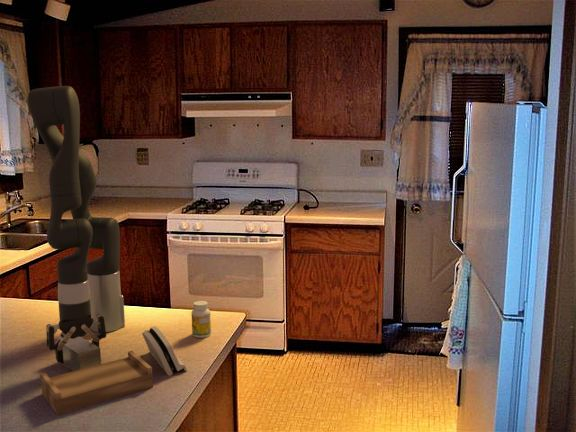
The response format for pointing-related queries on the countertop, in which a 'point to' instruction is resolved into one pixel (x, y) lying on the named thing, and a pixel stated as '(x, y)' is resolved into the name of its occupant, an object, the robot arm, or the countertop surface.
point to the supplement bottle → (201, 320)
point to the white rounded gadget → (162, 351)
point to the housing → (80, 354)
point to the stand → (96, 383)
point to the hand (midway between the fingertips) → (78, 359)
